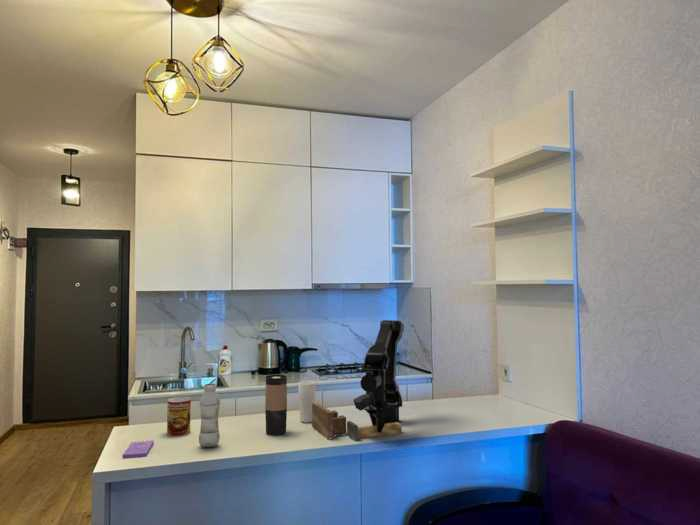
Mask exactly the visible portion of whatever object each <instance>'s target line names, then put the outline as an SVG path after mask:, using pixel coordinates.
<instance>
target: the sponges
mask: <svg viewBox="0 0 700 525" xmlns="http://www.w3.org/2000/svg"><path fill="white" fill-rule="evenodd" d="M154 445H155V440H146V441H144V440H143V441H131V442H130V444H129V446H127V448H126V449H125V451H124V452H123V453H122V459H133V458H134V459H135V458H145V457H148V455H149V454H150V452H151V450H152V448H153V447H154Z"/></svg>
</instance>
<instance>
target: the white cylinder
mask: <svg viewBox="0 0 700 525" xmlns="http://www.w3.org/2000/svg"><path fill="white" fill-rule="evenodd" d="M316 383H317V382H316V381H314V380H302V381H299V382H298V390H297V391H298V392H297V393H298V404H299V405H298V406H299V421H300V422H301V423H303V422H304V424H309V423H308V422H310V423H312V403H316V392H317V390H316V389H317V387H316V386H317V385H316Z"/></svg>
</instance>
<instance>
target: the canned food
mask: <svg viewBox="0 0 700 525" xmlns="http://www.w3.org/2000/svg"><path fill="white" fill-rule="evenodd" d="M191 401H192V399H191V397H189V396H176V397H172V398H168V399H167V411H166V412H167V418H166V419H167V421H166V428H167V429H166V435H167V436H168V437H183V436H186V435H189V434H190V433H191Z"/></svg>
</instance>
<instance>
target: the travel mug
mask: <svg viewBox="0 0 700 525" xmlns="http://www.w3.org/2000/svg"><path fill="white" fill-rule="evenodd" d="M287 380H288V378H287V375H286V374H268V375H266V376H265V406H264V408H265V410H264V411H265V434H266V435H268V436H275V437H277V435H278V436H281V435H282V436H283V435H285V434H286V433H287V416H288V415H287V412H288V399H287V398H288V384H287Z"/></svg>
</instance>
